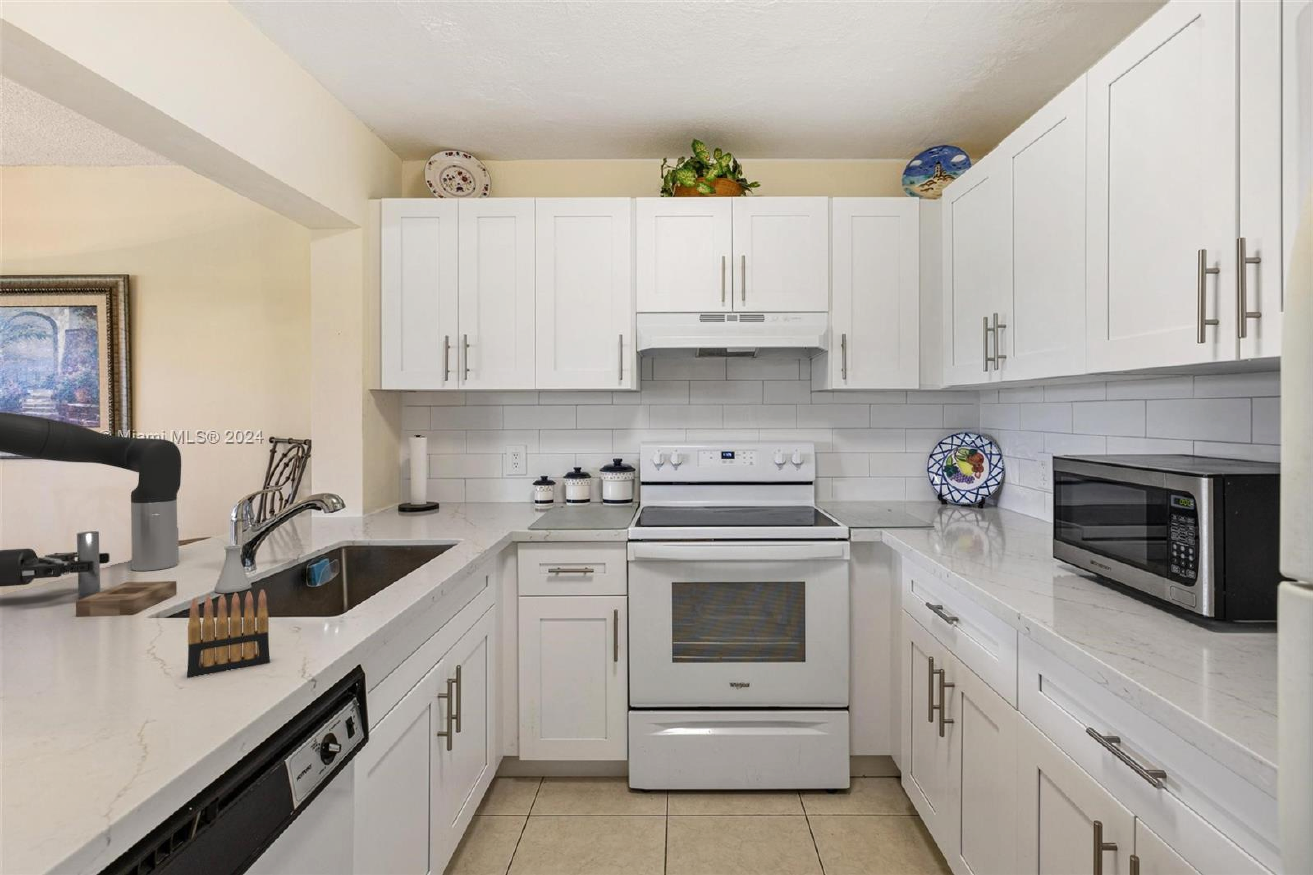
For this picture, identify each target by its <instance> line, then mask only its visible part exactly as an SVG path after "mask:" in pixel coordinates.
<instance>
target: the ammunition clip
mask: <svg viewBox="0 0 1313 875" xmlns="http://www.w3.org/2000/svg"><path fill="white" fill-rule="evenodd" d="M240 601H241V600H240V597H239V595H238V593H237V592H233V595H232V599H231V604H230V617H229V616H228V606H227V600H226V597H225V595H224V593H220V596H219V598H218V602H217V613H216V614H217V616H216V621H215V616H214V607H213V606H214V605H213V601H212V598H211V596H210V595H208V596H207V597H206V599H205V601H204V606H203V620H202V623H201V618H200V617H201V615H200V607H199V603H198V600H197V597H193V598H192V599H191V603H190V606H189V618H188V619H189V620H188V626H187V672H186V677H187V678H188V679H189V678H195V677H194V676H196V677H200V676H199V675H201V676H205V675H204V674H207V675H211V674H210V673H212V674H217V673H222V672H227V671H226V670H229V671H232V670H231V669H234V670H238V668H240V669H244V668H250V667H255V666H261V665H266V664H270V663H271V659H270V658H271V657H270V643H269V642H270V641H269V639H270V638H269V637H270V636H269V635H270V634H269V631H270V630H269V612H268V604H267V603H268V602H267V595H266V592H265V590H264V589H263V588H262V589H260V592H259V595H258V601H257V613H256V615H255V608H254V605H255V604H254V597H253V595H252V592H251V591H250V590H248V591H247V593H246V596H245V600H244V614H243V617H242V613H241V612H242V611H241V602H240ZM228 617H229V618H228ZM242 618H243V619H242Z"/></svg>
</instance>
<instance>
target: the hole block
mask: <svg viewBox="0 0 1313 875" xmlns="http://www.w3.org/2000/svg"><path fill="white" fill-rule="evenodd" d="M177 582H178V581H177V580H171V581H170V580H168V581H166V580H165V581H163V580H162V581H161V580H160V581H130V582H129V581H125V582H123V583H120V584H118V585H114V586H113V587H110V588H107V589H105V590H101V591H100V592H99V593H97V594H94V595H91V596H89V597H86V598H83V599H78V600H75V617H78V618H79V617H103V616H104V617H105V616H133V615H136V614H138V613H140V612H142V611H145V610H147V609H149V608H150V607H153V606H155V605H157V604H160V603H162V602H163V601H166V600H168V599H171V598H172V597H174V596H173V595H175V596H176V594H178V592H177V590H178V588H177V584H178V583H177Z"/></svg>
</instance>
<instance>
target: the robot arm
mask: <svg viewBox="0 0 1313 875" xmlns="http://www.w3.org/2000/svg"><path fill="white" fill-rule="evenodd" d="M0 452H3V453H7V454H10V455H11V454H12V455H16V456H20V457H25V458H26V457H27V458H33V459H41V460H47V461H53V462H54V461H55V462H64V463H66V462H67V463H90V464H91V463H92V464H100V465H105V466H106V465H107V466H111V467H115V468H120V469H123V470H127V471H130V472H135V473H138V482H137V483H138V484H137V486H136V487H135V488H134V489H133V490H131V492H130V515H131V517H130V521H131V522H130V524H131V525H130V526H131V528H130V529H131V534H130V535H131V570H132V571H135V572H136V571H137V572H140V571H141V572H144V571H147V572H148V571H156V570H157V571H158V570H163V569H169V568H172V567H175V566H177V565H178V564H179V563H180V557H179V556H180V555H179V551H180V549H179V544H180V543H179V541H180V540H179V527H178V509H177V508H178V497H177V496H178V493H179V490H180V488H181V482H182V481H181V480H182V478H181V477H182V454H181V451H180V448H179V447H178V446H177V445H176V444H175V443H174V442H172V441H170V440H168V439H162V438H148V437H147V438H145V437H143V438H141V437H140V438H138V437H128V436H127V437H126V436H119V435H111V434H108V433H107V434H106V433H102V432H99V431H96V430H93V429H91V428H87V427H85V426H81V425H80V424H75V423H70V422H67V421H63V420H57V419H52V418H48V417H42V416H35V415H28V414H21V413H20V414H19V413H12V412H0ZM110 555H111V554H110V553H109V552H99V559H100V564H103V565H104V564H108V563H109V562H110ZM75 558H77V551H74V552H55V553H51V554H50V553H49V554H45V555H44V556H41V557H39V556H38V555H37V552H36V551H35V550H34V549H32V548H14V549H13V548H12V549H0V588H2V587H13V586H25V585H29V584H31V583H32V582H33V581H34V579H47V578H59V577H62V576H67V575H69V574H74V573H77V574H78V573H79V572H91V571H93V570H94V562H93V561H77V560H75Z"/></svg>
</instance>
